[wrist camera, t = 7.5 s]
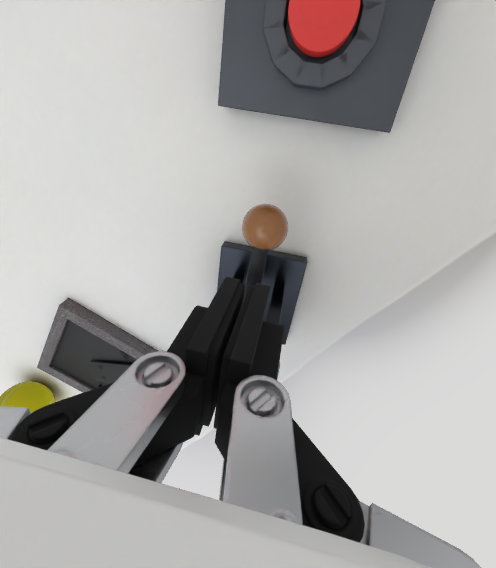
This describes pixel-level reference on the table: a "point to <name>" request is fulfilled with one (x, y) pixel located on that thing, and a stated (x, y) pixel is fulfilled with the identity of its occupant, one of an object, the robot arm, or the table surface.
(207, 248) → the table surface
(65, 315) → the picture frame
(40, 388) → the tennis ball
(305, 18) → the button
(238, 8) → the grey base plate
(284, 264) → the switch bracket
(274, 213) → the switch lever
